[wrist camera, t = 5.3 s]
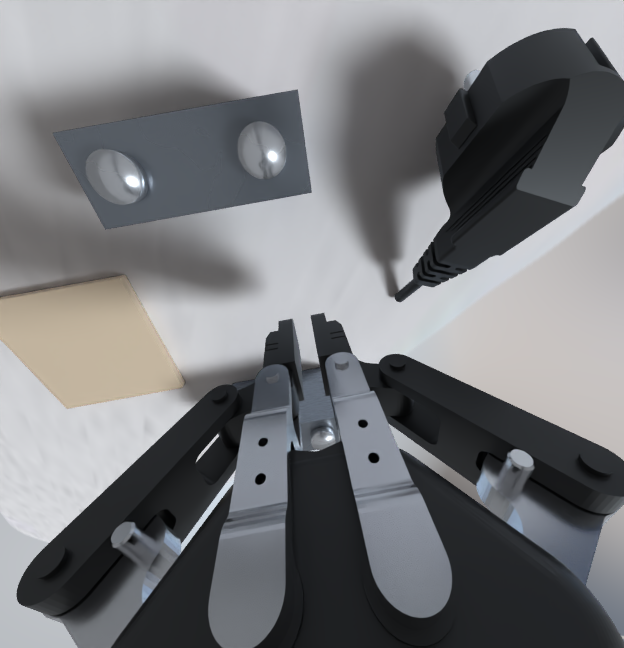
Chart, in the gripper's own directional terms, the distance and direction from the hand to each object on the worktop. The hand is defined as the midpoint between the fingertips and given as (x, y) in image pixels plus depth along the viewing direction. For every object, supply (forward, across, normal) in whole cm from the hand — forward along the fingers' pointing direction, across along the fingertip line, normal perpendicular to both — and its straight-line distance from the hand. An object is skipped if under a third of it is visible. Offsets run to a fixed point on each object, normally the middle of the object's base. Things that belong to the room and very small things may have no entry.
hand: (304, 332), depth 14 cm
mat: (+5, +15, +1) cm, 15 cm away
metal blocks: (+5, +3, 0) cm, 5 cm away
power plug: (+7, -7, 0) cm, 10 cm away
